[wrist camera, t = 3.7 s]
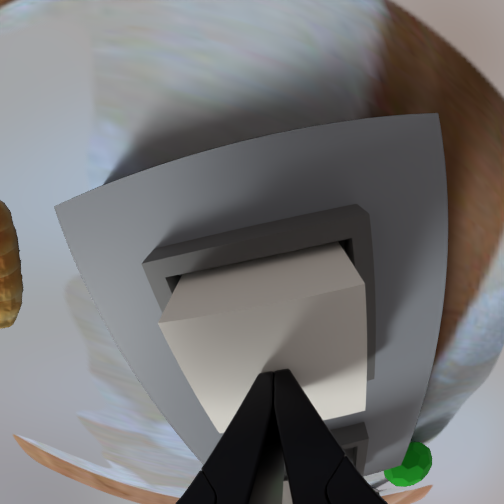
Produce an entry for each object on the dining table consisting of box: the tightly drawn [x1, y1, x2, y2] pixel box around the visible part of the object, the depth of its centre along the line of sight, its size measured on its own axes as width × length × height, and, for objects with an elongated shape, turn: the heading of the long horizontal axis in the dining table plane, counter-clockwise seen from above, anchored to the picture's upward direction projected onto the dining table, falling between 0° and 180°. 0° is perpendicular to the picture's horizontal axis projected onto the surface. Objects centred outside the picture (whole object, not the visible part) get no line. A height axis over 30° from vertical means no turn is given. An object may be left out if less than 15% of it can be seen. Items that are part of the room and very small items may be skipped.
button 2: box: [158, 241, 367, 433], centre depth 9 cm, size 5×5×3 cm
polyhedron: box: [384, 442, 432, 487], centre depth 19 cm, size 5×5×5 cm
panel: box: [54, 113, 448, 481], centre depth 14 cm, size 24×14×5 cm, turn 14°
